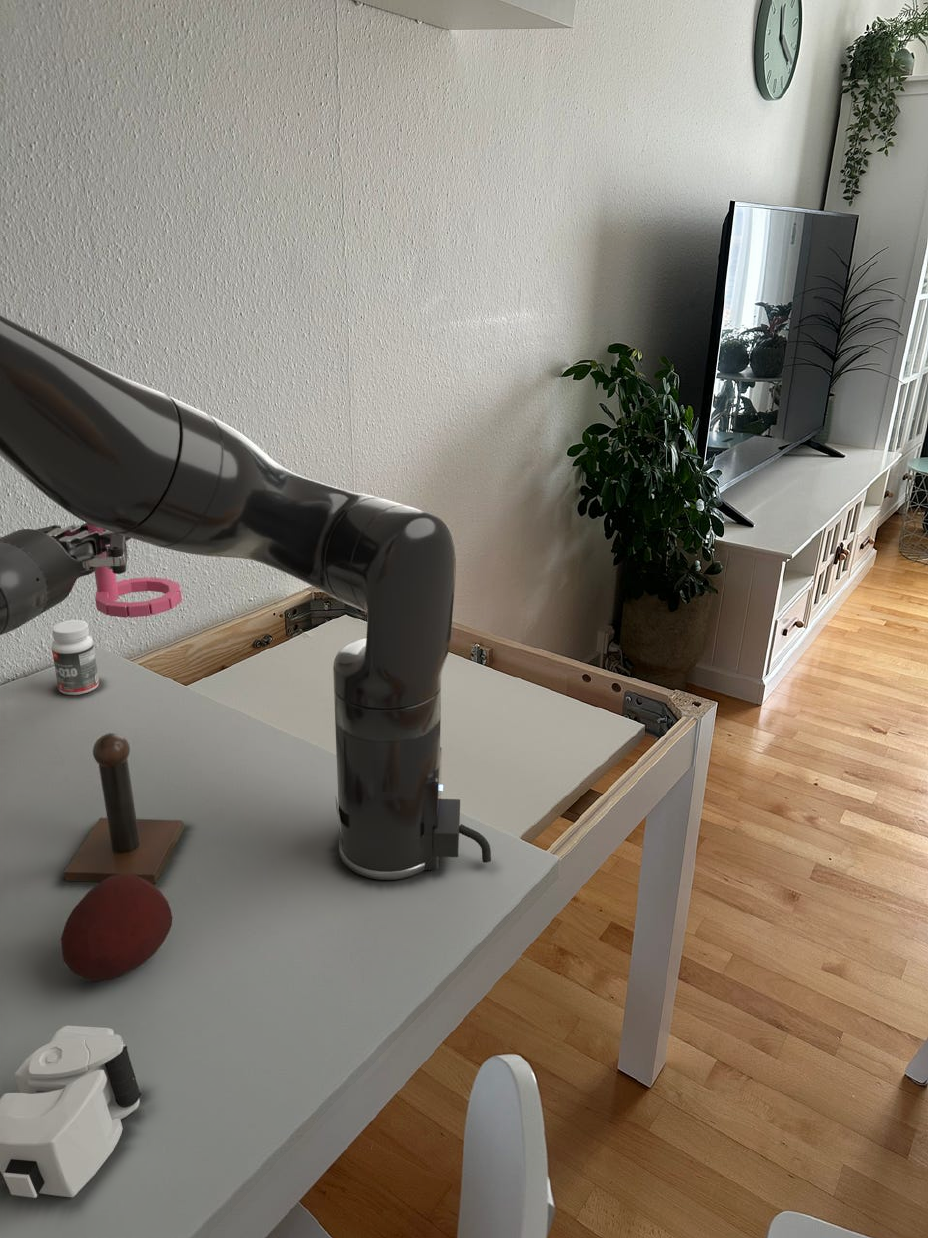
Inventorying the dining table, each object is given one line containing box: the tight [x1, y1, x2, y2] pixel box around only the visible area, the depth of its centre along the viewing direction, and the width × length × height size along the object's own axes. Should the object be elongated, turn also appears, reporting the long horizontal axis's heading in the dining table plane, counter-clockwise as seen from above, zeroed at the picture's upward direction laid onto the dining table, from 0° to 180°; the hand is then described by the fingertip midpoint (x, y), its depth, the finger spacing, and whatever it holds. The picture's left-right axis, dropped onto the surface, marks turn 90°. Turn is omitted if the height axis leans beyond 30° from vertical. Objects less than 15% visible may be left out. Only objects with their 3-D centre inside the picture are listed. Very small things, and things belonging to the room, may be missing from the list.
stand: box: [63, 732, 185, 885], centre depth 80 cm, size 8×8×12 cm
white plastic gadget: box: [0, 1025, 142, 1199], centre depth 55 cm, size 6×7×10 cm
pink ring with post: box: [86, 522, 183, 619], centre depth 92 cm, size 9×8×11 cm
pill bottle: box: [51, 619, 100, 696], centre depth 110 cm, size 5×5×8 cm
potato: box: [60, 874, 173, 982], centre depth 69 cm, size 7×8×7 cm
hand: (115, 527), depth 94 cm, fingers closed on pink ring with post
